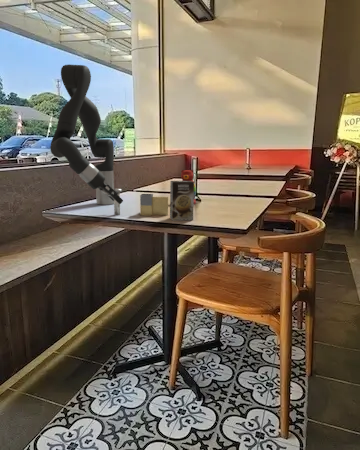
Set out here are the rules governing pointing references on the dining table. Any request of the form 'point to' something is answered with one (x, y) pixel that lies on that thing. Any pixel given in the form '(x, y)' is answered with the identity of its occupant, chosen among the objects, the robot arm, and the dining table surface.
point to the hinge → (153, 205)
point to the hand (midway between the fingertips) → (118, 201)
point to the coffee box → (181, 200)
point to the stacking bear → (188, 179)
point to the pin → (116, 204)
